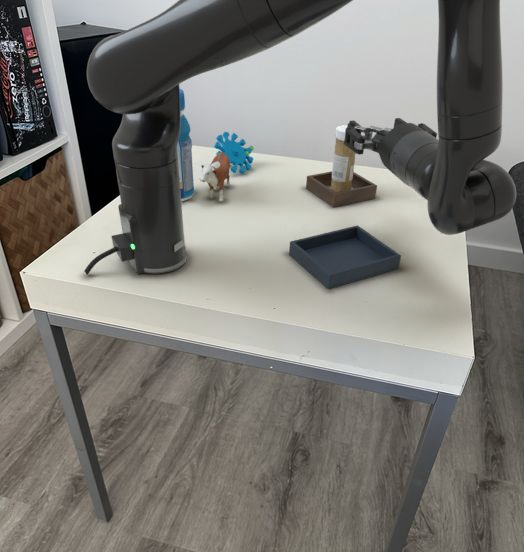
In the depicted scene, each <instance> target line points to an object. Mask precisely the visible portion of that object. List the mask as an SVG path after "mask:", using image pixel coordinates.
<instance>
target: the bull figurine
mask: <svg viewBox="0 0 524 552" xmlns="http://www.w3.org/2000/svg"><path fill="white" fill-rule="evenodd" d="M230 169H231V164H230V161H229V158H228V156H227V155H225V154H224V153H223V152H222V151H221V153H220V154H218V155H216V154H215V156H214V157H213V159H212V160H211V163H210V164H204V165H203V164H202V165H201V176H200V177H199V181H200V182H202V183H207V185H208V187H209V191H210V195H209V199H210V200H214V199H215V196H216V195H215V191H217V190H218V188H219V191H218V192H219V197H218V202H219V203H224V195H223V194H224V189H225V187H226V189H227V188H229V189H230V188H231V181H230ZM225 180H226V183H225Z"/></svg>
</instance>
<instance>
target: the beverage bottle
mask: <svg viewBox="0 0 524 552" xmlns="http://www.w3.org/2000/svg"><path fill="white" fill-rule="evenodd" d="M185 109H186V100H185V92H184V90H183V89H182V88H180V115H181V131H180V137H179V140H178V144H177V154H178V166H179V179H180V191H181V202H184V201H187V200H189V199H191V198H192V197H193V196H194V194H195V186H194V170H193V169H194V167H193V151H192V149H193V140H192V138H191V136H190V133H191V126H190V123H189V120H188V118H187V117H186V115H185V114H184V113H183V112H184V111H185Z"/></svg>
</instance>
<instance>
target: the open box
mask: <svg viewBox="0 0 524 552" xmlns="http://www.w3.org/2000/svg"><path fill="white" fill-rule="evenodd" d="M331 182H332V170H331V171H326V172H321V173H316V174H310V175H306V184H305V189H306V190H307V191H308V192H310V193H311V194H313V195H315V197H317V198H319V199H320V200H322V201H323V202H325V203H326V204H328V205H329V206H330V207H332V208H337V207H338V208H339V207H342V206H347V205H351V204H355V203H360V202H366V201H369V200H373V199H376V196H377V189H378V185H377V184H375V183H374V182H372V181H370V180H368V179H367V178H365V177H363V176H361V175H360V174H358V173H357V172H355V171H353V179H352V185H351V189H350V190H345V191H340V192H335V191H333V190H332V189H331Z"/></svg>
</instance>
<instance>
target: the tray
mask: <svg viewBox="0 0 524 552" xmlns="http://www.w3.org/2000/svg"><path fill="white" fill-rule="evenodd" d="M288 253H289V254H288V255H289V256H290V257H291V258H292V259H294V260H295V261H296V262H297V263H298V264H299V265H301V266H302V267H303V268H304V269H305V270H306V271H307V272H308V273H310V274H311V275H312V276H313V278H315V279H316V280H317V281H319V283H321V284H322V285H323V286H324V287H325V288H326V289H329V290H330V289H331V288H337V287H339V286H344V285H347V284H349V283H353V282H357V281H360V280H363V279H367V278H371V277H373V276H377V275H381V274H384V273H388V272H391V271H395V270H399V268H400V263H401V258H402V254H400V253H398V252H397V251H395V250H394V249H393V248H391V247H390V246H389V245H387V244H385V242H383V241H381V240H380V239H378V238H377V237H375V236H373V235H372V234H371V233H369V232H368V231H367V230H365V229H363V228H362V227H361V226H359V225H352V226H349V227H345V228H341V229H336V230H333V231H329V232H324V233H320V234H315V235H311V236H307V237H304V238H298V239H295V240H291V241H289V251H288Z"/></svg>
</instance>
